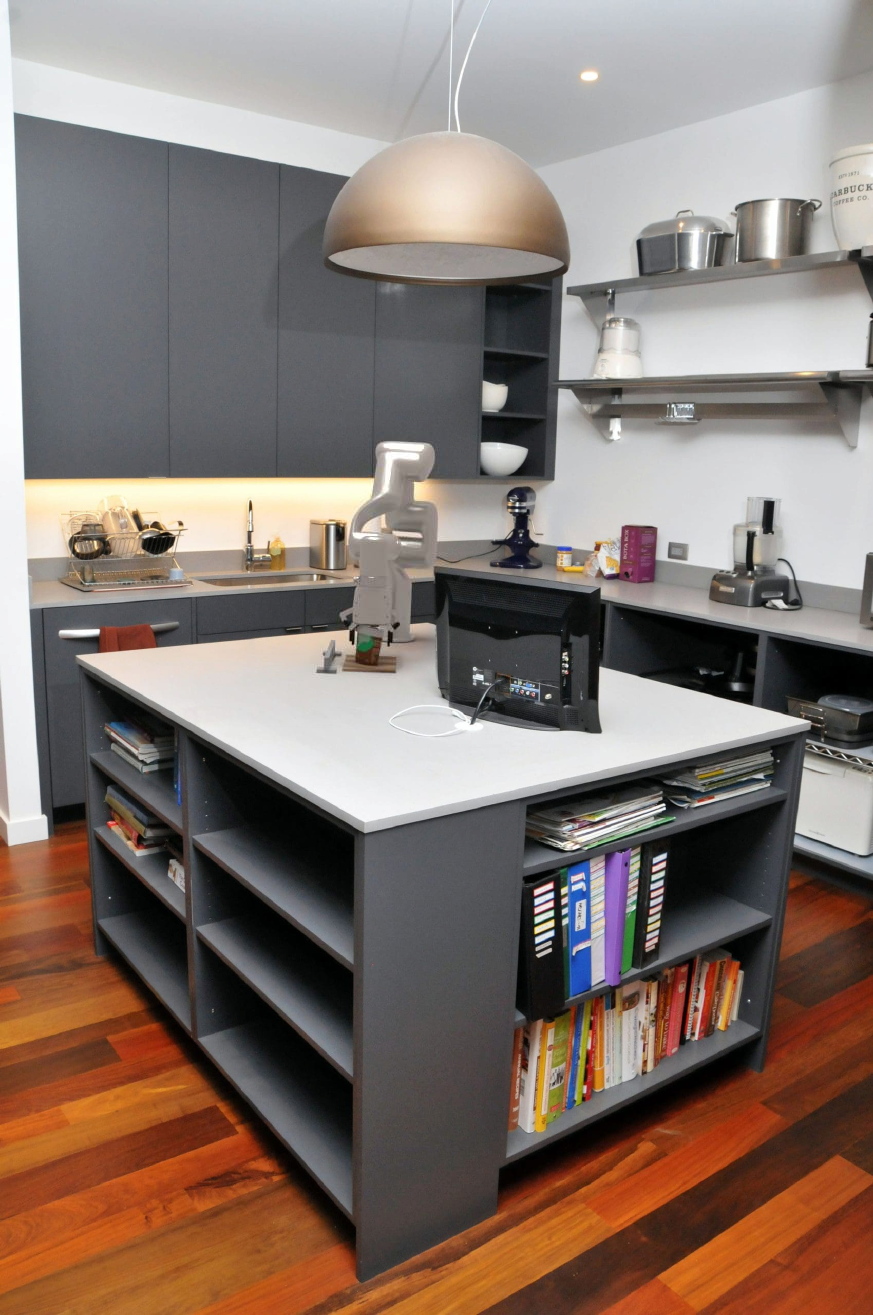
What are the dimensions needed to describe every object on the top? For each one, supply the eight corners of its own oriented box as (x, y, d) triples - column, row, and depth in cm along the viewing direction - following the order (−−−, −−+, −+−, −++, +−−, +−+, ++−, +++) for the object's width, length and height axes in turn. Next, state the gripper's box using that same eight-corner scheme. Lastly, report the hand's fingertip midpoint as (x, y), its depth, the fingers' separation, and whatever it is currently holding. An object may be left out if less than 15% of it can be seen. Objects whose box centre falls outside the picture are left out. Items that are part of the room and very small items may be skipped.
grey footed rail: (323, 653, 283) (324, 639, 282) (341, 654, 283) (342, 640, 282) (316, 672, 259) (316, 657, 259) (335, 673, 260) (336, 658, 259)
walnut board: (346, 656, 280) (346, 654, 280) (396, 658, 281) (396, 656, 281) (342, 670, 263) (342, 668, 263) (395, 673, 263) (395, 670, 263)
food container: (346, 655, 276) (351, 619, 274) (367, 657, 278) (373, 622, 276) (356, 664, 264) (361, 627, 263) (378, 667, 266) (384, 630, 265)
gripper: (339, 582, 263) (337, 646, 267) (405, 585, 264) (402, 649, 267) (341, 578, 270) (339, 641, 274) (405, 581, 271) (402, 643, 275)
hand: (370, 645), depth 271 cm, fingers open, 9 cm apart
